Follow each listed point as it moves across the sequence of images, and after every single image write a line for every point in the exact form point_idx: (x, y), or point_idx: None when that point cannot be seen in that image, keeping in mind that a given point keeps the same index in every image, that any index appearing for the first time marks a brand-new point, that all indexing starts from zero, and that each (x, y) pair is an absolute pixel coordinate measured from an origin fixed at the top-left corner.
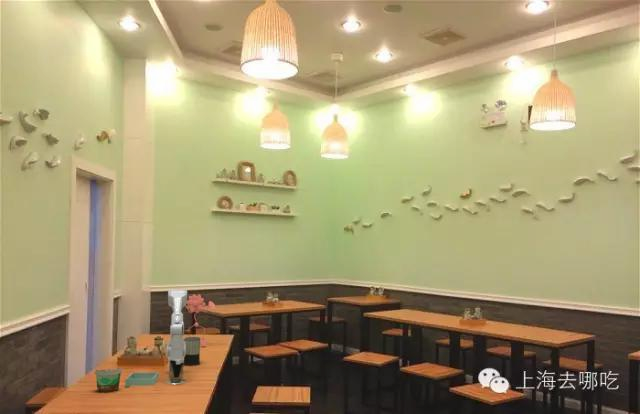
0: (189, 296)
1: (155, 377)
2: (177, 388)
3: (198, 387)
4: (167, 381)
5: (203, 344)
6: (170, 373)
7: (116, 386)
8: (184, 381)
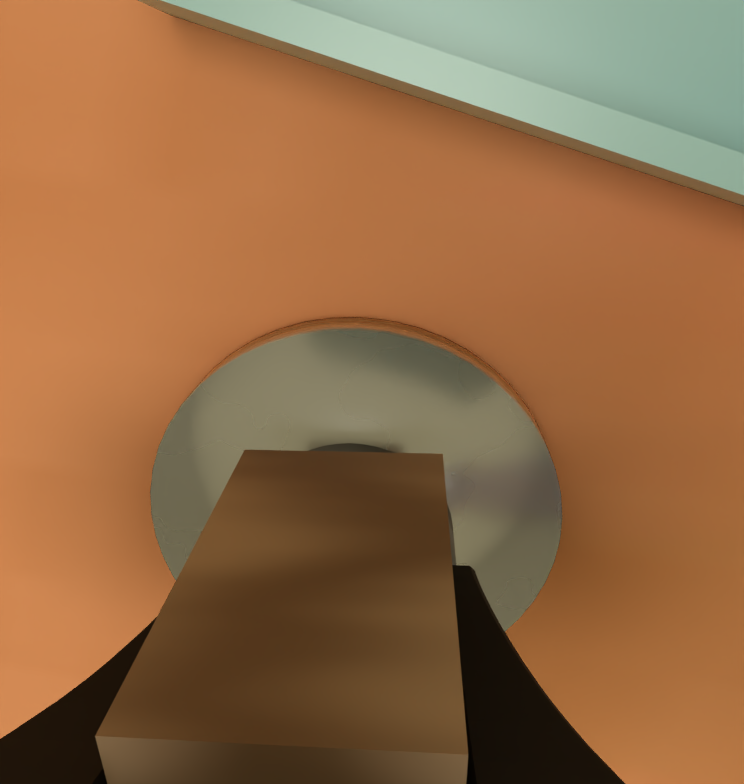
0: None
1: (423, 90)
2: (6, 480)
3: None
4: (414, 387)
5: None
6: (198, 542)
7: None
8: None
